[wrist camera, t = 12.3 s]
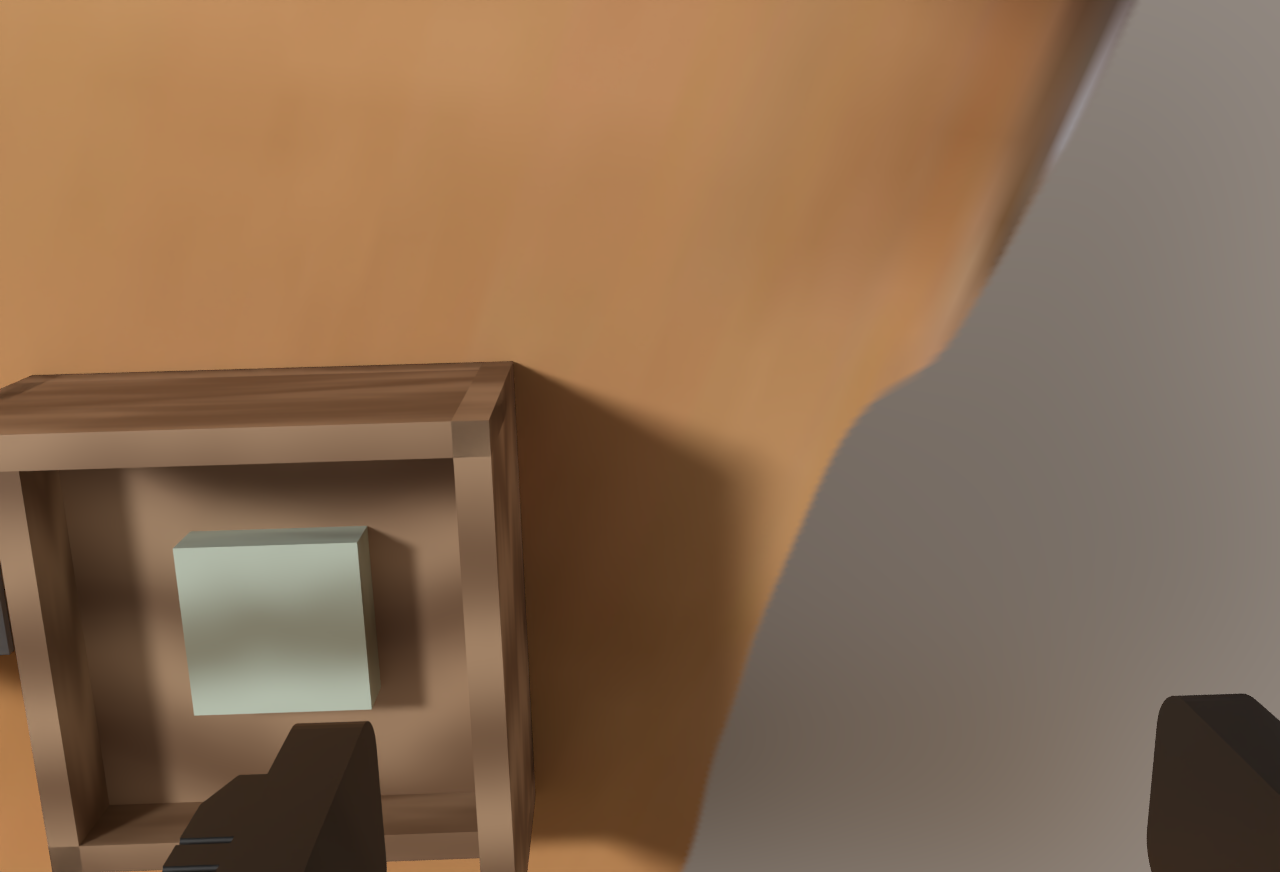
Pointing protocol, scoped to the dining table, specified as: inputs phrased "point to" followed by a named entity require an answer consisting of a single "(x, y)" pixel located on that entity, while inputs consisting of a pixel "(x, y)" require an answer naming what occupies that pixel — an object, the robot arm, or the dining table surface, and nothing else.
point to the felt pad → (4, 625)
